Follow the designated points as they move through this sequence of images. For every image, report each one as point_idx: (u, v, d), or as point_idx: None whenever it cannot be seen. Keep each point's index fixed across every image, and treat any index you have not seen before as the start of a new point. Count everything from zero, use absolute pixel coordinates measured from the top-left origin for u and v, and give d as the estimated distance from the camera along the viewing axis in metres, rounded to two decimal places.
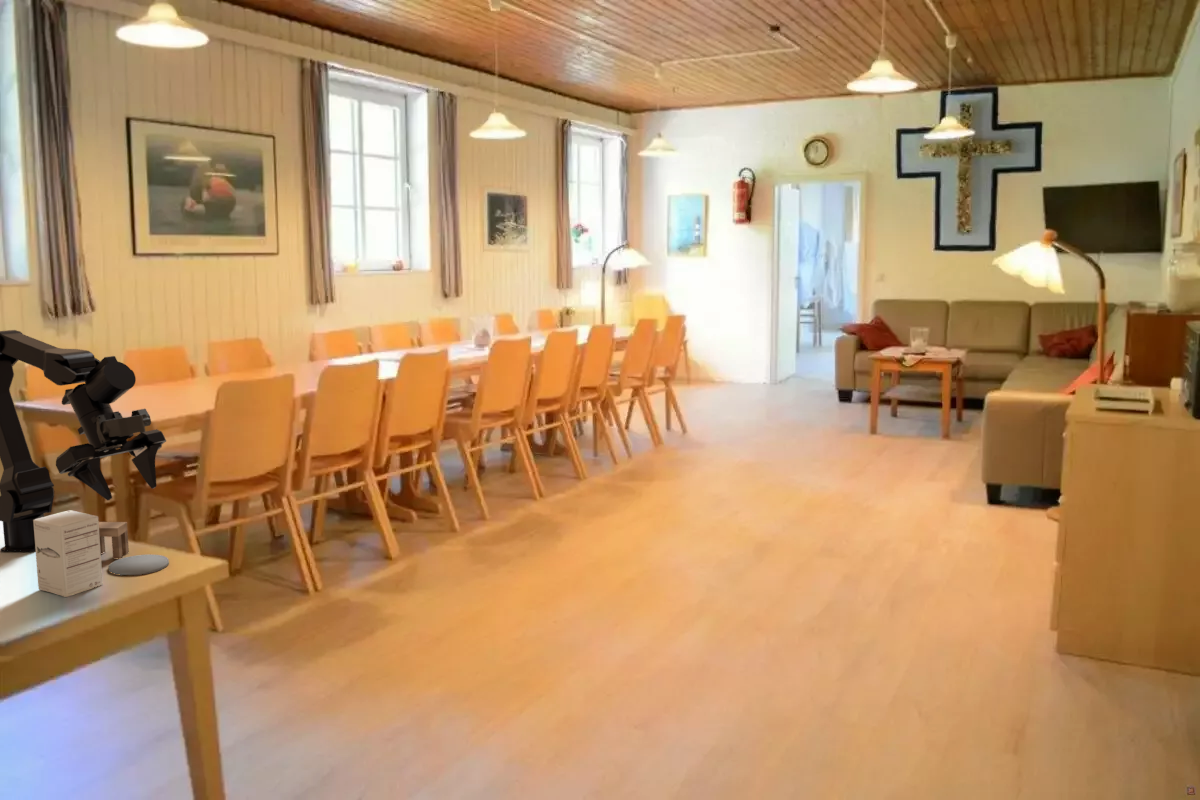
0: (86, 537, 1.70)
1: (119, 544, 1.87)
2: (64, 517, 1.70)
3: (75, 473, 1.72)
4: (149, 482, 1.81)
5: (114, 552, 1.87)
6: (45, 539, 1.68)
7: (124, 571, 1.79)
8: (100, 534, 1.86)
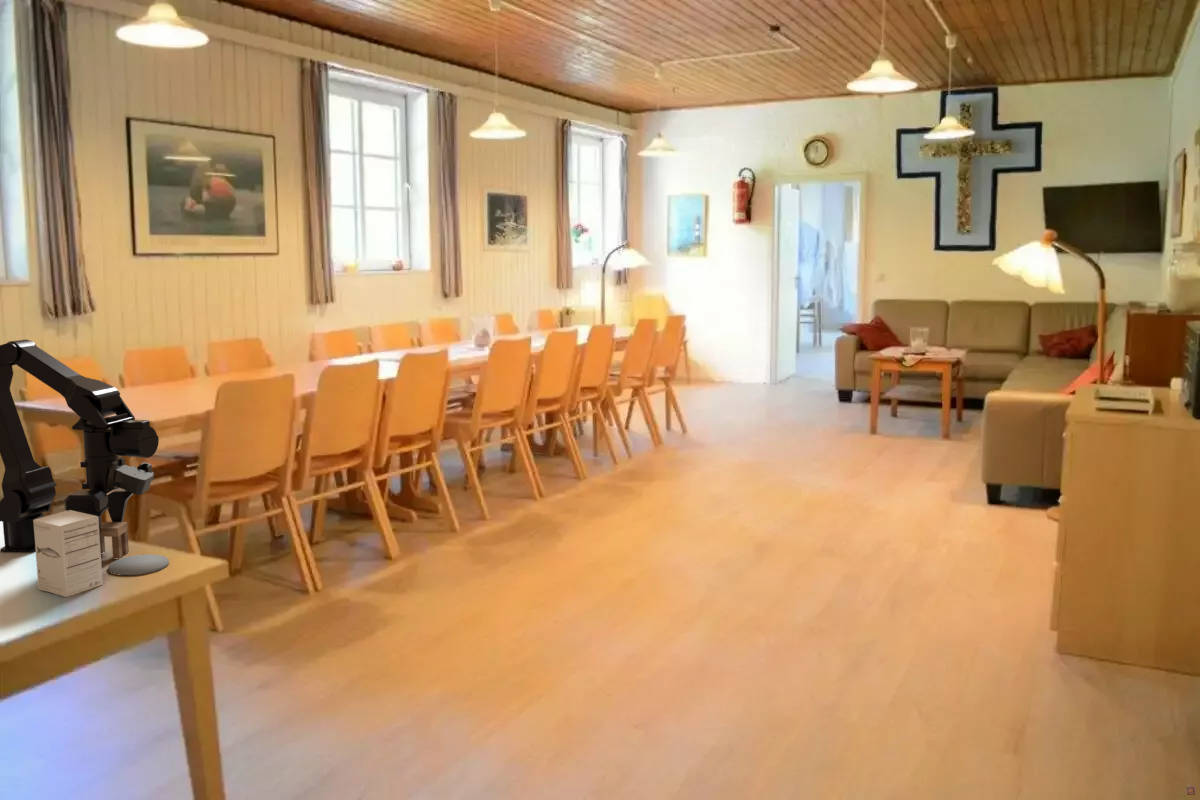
0: (86, 537, 1.70)
1: (119, 544, 1.87)
2: (64, 517, 1.70)
3: None
4: (115, 521, 1.93)
5: (114, 552, 1.87)
6: (45, 539, 1.68)
7: (124, 571, 1.79)
8: (100, 534, 1.86)
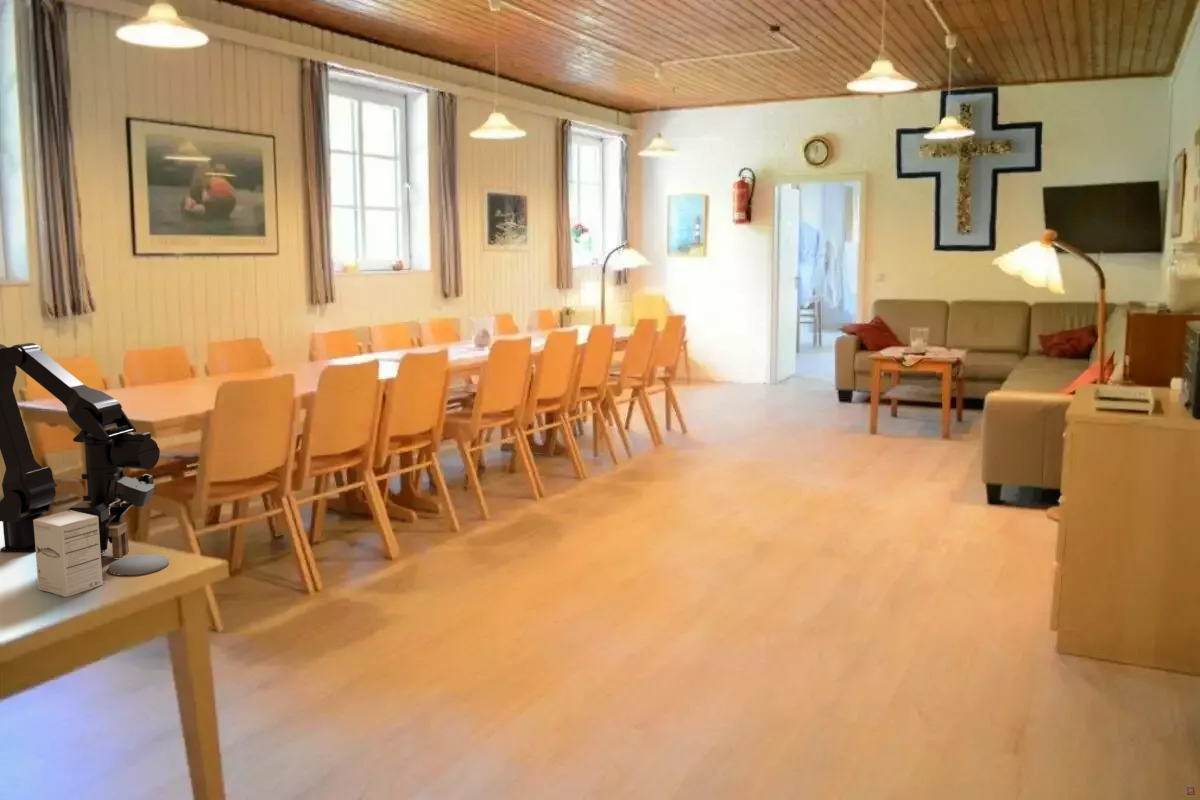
0: (86, 537, 1.70)
1: (119, 544, 1.87)
2: (64, 517, 1.70)
3: None
4: (110, 537, 1.90)
5: (114, 552, 1.87)
6: (45, 539, 1.68)
7: (124, 571, 1.79)
8: None
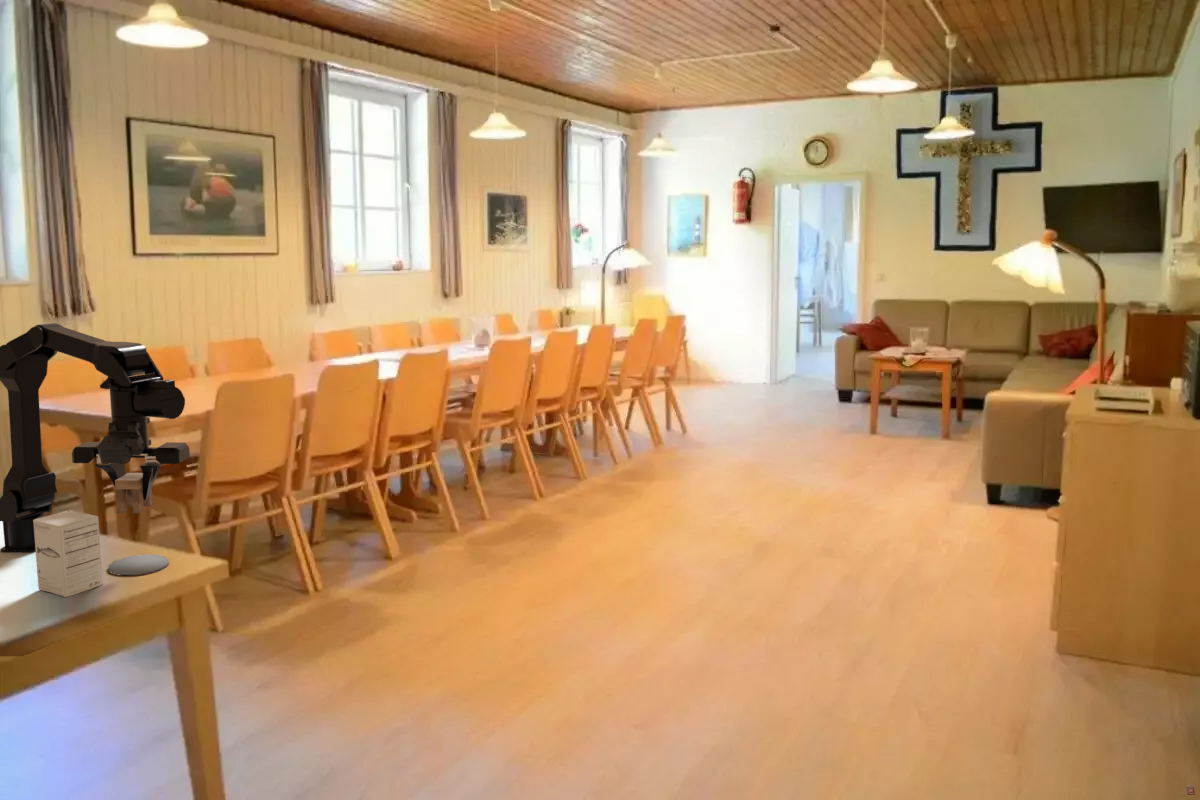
0: (86, 537, 1.70)
1: (118, 498, 1.78)
2: (64, 517, 1.70)
3: None
4: None
5: None
6: (45, 539, 1.68)
7: (124, 571, 1.79)
8: None
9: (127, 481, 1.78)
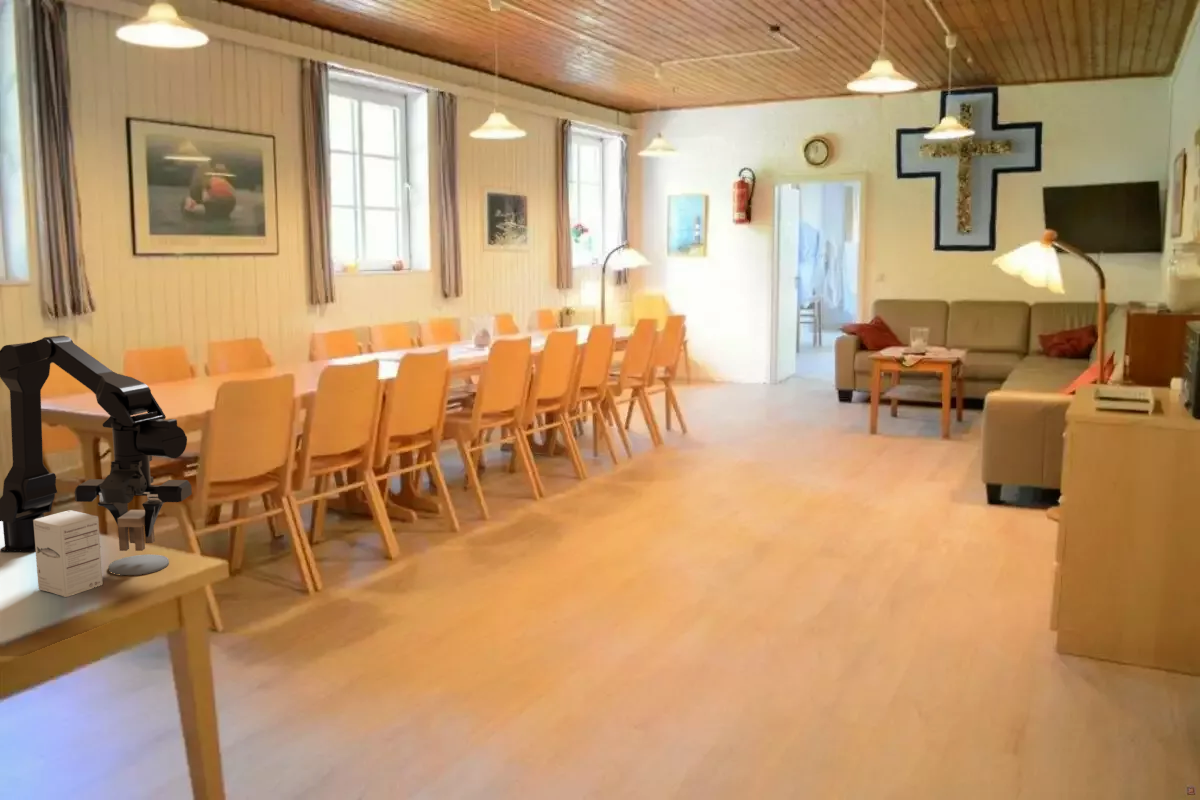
0: (86, 537, 1.70)
1: (120, 535, 1.80)
2: (64, 517, 1.70)
3: None
4: None
5: None
6: (45, 539, 1.68)
7: (124, 571, 1.79)
8: None
9: (129, 519, 1.79)
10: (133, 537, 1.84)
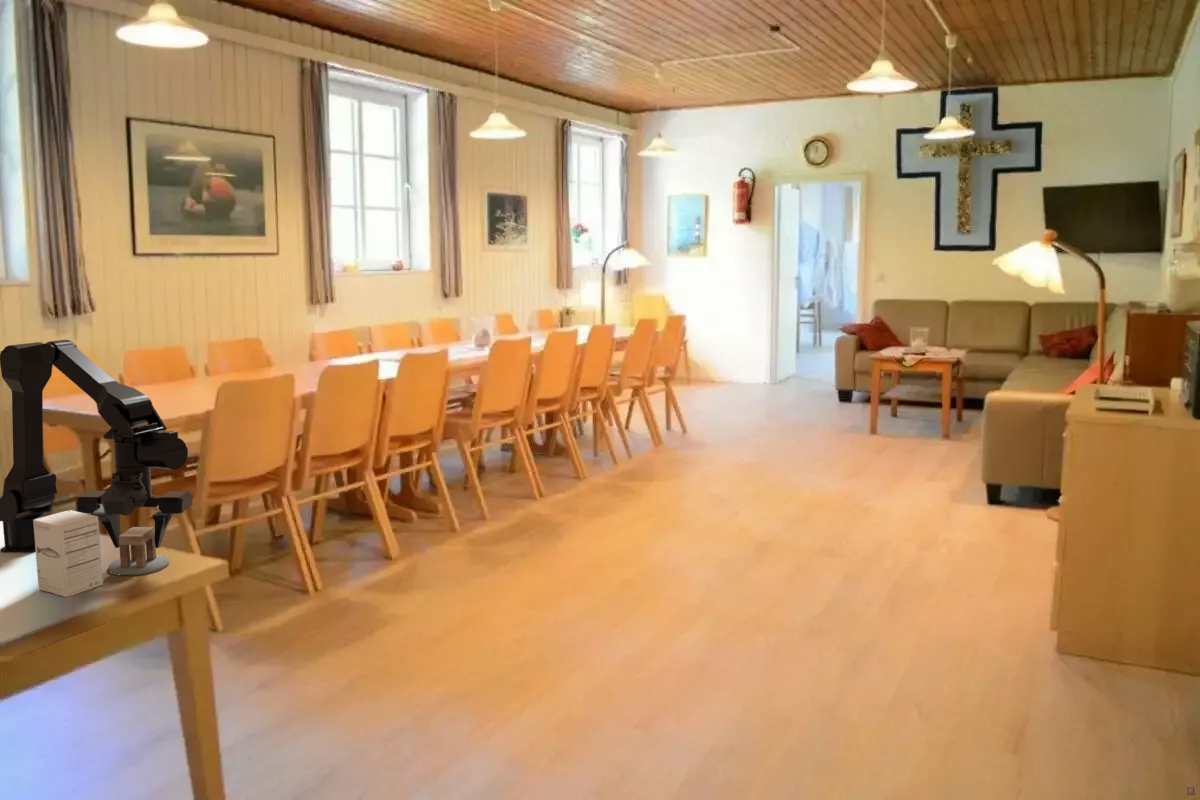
0: (86, 537, 1.70)
1: (121, 553, 1.80)
2: (64, 517, 1.70)
3: None
4: None
5: None
6: (45, 539, 1.68)
7: (124, 571, 1.79)
8: None
9: (131, 537, 1.80)
10: (134, 554, 1.85)
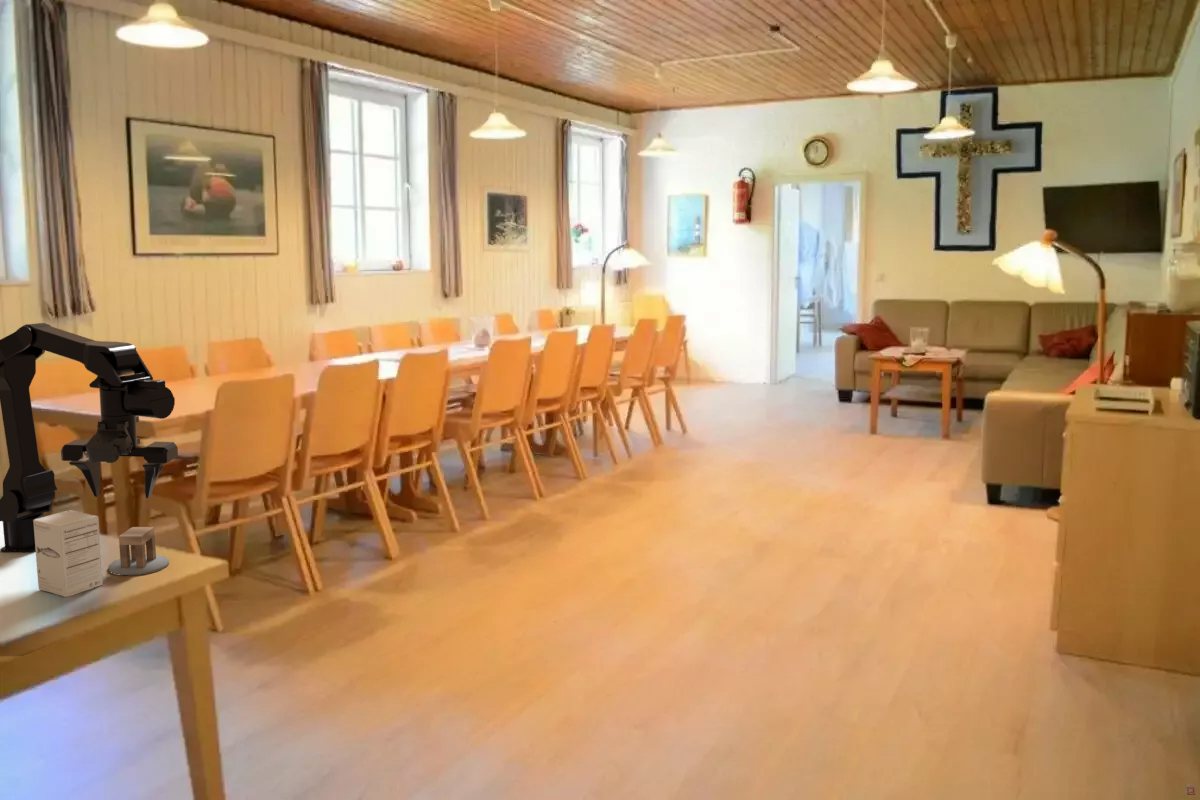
0: (86, 537, 1.70)
1: (121, 553, 1.80)
2: (64, 517, 1.70)
3: None
4: None
5: None
6: (45, 539, 1.68)
7: (124, 571, 1.79)
8: None
9: (131, 537, 1.80)
10: (134, 554, 1.85)
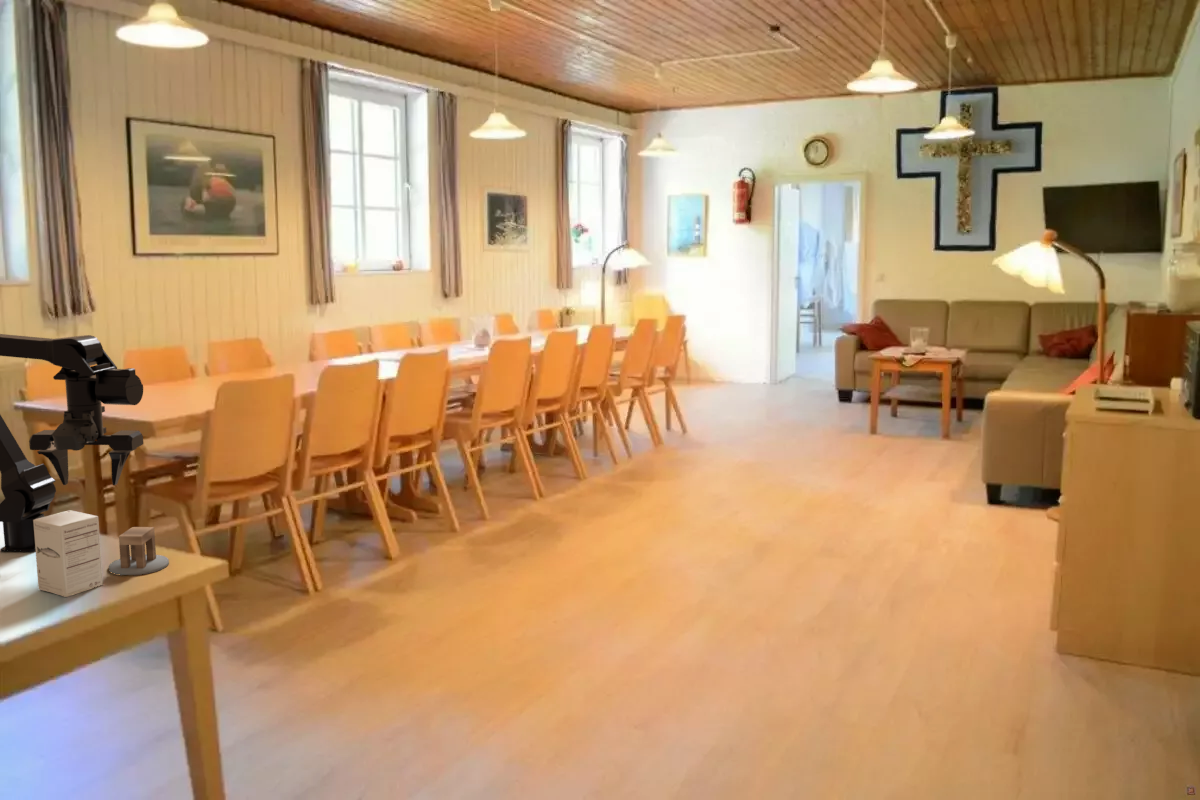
0: (86, 537, 1.70)
1: (121, 553, 1.80)
2: (64, 517, 1.70)
3: None
4: None
5: None
6: (45, 539, 1.68)
7: (124, 571, 1.79)
8: None
9: (131, 537, 1.80)
10: (134, 554, 1.85)
